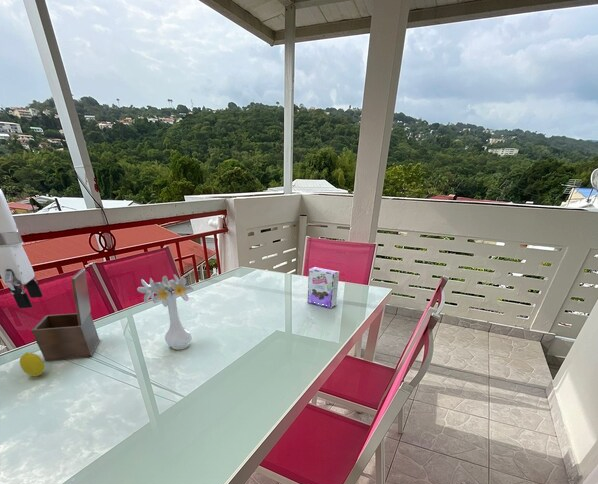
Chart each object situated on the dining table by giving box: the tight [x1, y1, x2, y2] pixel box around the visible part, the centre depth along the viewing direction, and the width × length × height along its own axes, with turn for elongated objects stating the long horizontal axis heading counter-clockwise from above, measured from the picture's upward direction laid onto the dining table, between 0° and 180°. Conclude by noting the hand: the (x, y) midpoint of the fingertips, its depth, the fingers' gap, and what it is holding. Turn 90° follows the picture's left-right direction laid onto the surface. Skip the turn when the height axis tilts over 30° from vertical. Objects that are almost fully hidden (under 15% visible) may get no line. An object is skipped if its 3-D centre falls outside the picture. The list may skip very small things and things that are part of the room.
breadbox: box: [31, 312, 100, 362], centre depth 113 cm, size 14×14×11 cm
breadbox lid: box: [70, 267, 92, 325], centre depth 108 cm, size 15×14×1 cm
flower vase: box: [136, 273, 194, 351], centre depth 114 cm, size 13×18×25 cm
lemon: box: [19, 351, 46, 377], centre depth 99 cm, size 6×6×8 cm
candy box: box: [307, 266, 340, 309], centre depth 160 cm, size 14×6×16 cm, turn 55°
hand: (31, 302), depth 98 cm, fingers open, 9 cm apart
